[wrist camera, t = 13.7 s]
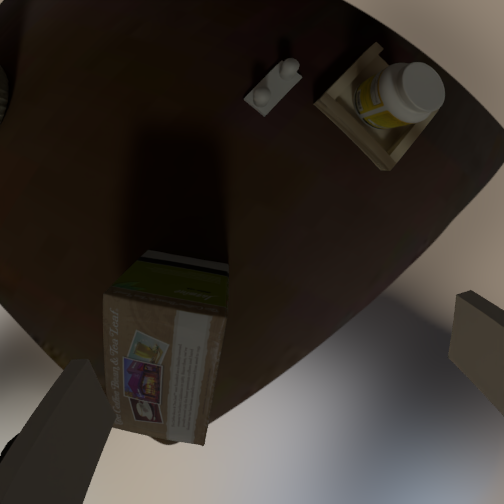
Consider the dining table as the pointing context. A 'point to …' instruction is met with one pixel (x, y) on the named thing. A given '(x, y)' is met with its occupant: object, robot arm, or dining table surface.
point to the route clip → (274, 86)
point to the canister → (3, 92)
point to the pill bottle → (399, 95)
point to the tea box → (165, 344)
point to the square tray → (345, 117)
